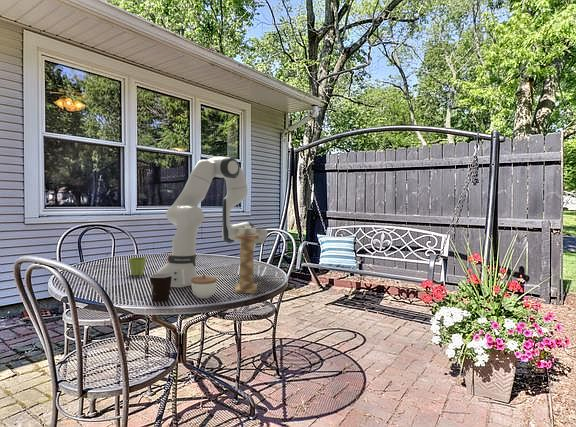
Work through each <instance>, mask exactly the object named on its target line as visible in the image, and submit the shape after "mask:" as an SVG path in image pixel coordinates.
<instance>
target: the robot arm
mask: <svg viewBox="0 0 576 427" xmlns="http://www.w3.org/2000/svg"><path fill="white" fill-rule="evenodd" d="M214 178H219V179H224V180H225V183H226V184H225V185H226V195H225V197H223V199H222V229H221V237H222V240H223V242H225V243H227V244H232V243H235V242H238V241H239V246H240V245H241V239H236V234H237V233H239V228H245V226H251V228H255V225H254V224H253V223H252V222H250V221H244V222H240V223H235V224H231V223H230V222H231V217H230V216H231V210H232V209H233V208H235V206H237V205H239V204H240V203H242V202H243V201H245V199H246V198H247V196H248V186H247V185H248V184H247V180H246V177H245V174H244V171H243V169H242V168H241V167H240V165H239V162H238V161H237V159H235V158H234V157H231V156H212V157H209V158H207V159H200V160H198V162H197V163H196V164H195V166H194V167H193V168H192V170H191V172H190V174H189V176H188V178H187V181H186V183H185V186H184V187H183V189H182V191H181V193H180V194H179V195H178V197H177V198H176V200H174V202H173V204H172V205H171V206H170V207H168V208H167V210H166V214H165V215H166V219H167V221H168V222H169V223H171V224H172V225H174V226H176V231H175V233H174V236H173V237H172V242H171V243H172V245H171V247H172V252H171V253H170V254H169V255H168V256H167V263H166V264H164V265H163V266H162V267H160V268H158V270H156V273H155V274H161V273H165V274H171V275H172V279H171V286H170V288H185V287H188V286H190V287H191V279H192V278H194V277H198V275H197V267H196V266H197V259H198V258H197V254H196V251H197V250H196V247H197V245H196V243H197V242H196V241H197V237H198V236H197V235H198V232H199V228H200V226H201V224H202V223H203V221H204V219H205V215H204V211H203V209H201V208H200V207H199V206H198V205H199V204H200V203H201V202H202V201H203V200H205V198H206V196H207V193H208V191H209V188H210V186H211V184H212V182H213V179H214ZM256 233H258V239H254V251H255V250H256V247H257V246H260V245H264V243H265V241H266V240H267V238H268V230H267V229H266V228H256ZM149 286H151V282H149Z"/></svg>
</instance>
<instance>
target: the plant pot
mask: <svg viewBox="0 0 576 427" xmlns="http://www.w3.org/2000/svg"><path fill="white" fill-rule="evenodd" d="M147 259H148V258H146V257H131V258H128V259H127V261H128V263H129V268H130V276H143V275H144V274H145V273H144V272H145V266H146V262H147Z"/></svg>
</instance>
